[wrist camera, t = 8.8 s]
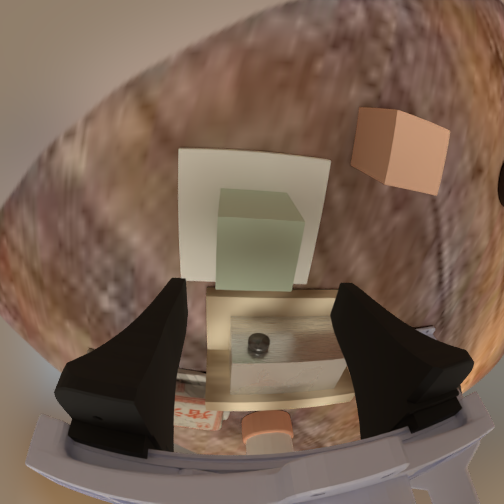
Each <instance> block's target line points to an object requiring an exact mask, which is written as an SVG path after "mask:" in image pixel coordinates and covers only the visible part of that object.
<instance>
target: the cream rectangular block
mask: <svg viewBox="0 0 504 504" xmlns="http://www.w3.org/2000/svg"><path fill="white" fill-rule="evenodd" d="M346 366H347V364H346V361H345V359H344V356H343V354H342V351H341V349H340V346H339V344H338V341H337V338H336V336H335V333H334V330H333V326H332V321H331V317H330V316H290V317H260V316H231V318H230V337H229V375H230V395H248V394H279V393H294V392H306V391H317V390H326V389H334V388H335V386H336V384H337V382H338V381H339V379H340V377H341V375H342V373H343V371H344V370H345V368H346Z"/></svg>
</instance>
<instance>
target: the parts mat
mask: <svg viewBox="0 0 504 504" xmlns="http://www.w3.org/2000/svg"><path fill="white" fill-rule="evenodd" d="M330 165H331V160H329V159H324V158H317V157H309V156H302V155H293V154H284V153H274V152H263V151H251V150H236V149H215V148H179V156H178V220H179V250H180V269H181V278H186V281H208V282H216V247H217V221H218V209H219V200H220V191H221V188H225V189H243V190H258V191H271V192H284V193H287V194H288V195H289V197H290V199H291V200H292V202H293V203H294V205H295V206H296V208H297V209H298V211H299V213H300V214H301V216H302V217H303V219H304V221H305V226H304V232H303V237H302V242H301V247H300V253H299V258H298V263H297V267H296V272H295V277H294V282H293V284H307V280H308V275H309V271H310V267H311V262H312V258H313V253H314V249H315V244H316V239H317V235H318V230H319V225H320V220H321V215H322V210H323V204H324V199H325V194H326V188H327V182H328V177H329V171H330Z"/></svg>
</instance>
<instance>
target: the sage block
mask: <svg viewBox="0 0 504 504" xmlns="http://www.w3.org/2000/svg"><path fill="white" fill-rule="evenodd" d="M304 226H305V221H304V219H303V217H302V216H301V214H300V213H299V211H298V209H297V208H296V206H295V205H294V203H293V202H292V200H291V199H290V197H289V195H288V194H287V193H284V192H271V191H258V190H243V189H225V188H221V191H220V200H219V209H218V221H217V247H216V282H215V289H216V290H244V291H287V292H291V291H292V287H293V282H294V277H295V272H296V267H297V263H298V258H299V253H300V247H301V242H302V237H303V232H304Z"/></svg>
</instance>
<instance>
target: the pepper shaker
mask: <svg viewBox="0 0 504 504" xmlns="http://www.w3.org/2000/svg"><path fill="white" fill-rule="evenodd" d="M242 436H243V441H244V443H245V444H246V455H261V454H276V453H287V452H294V449H293V444H292V440H291V439H292V438H293V430H292V424H291V419H290V415H289V414H288V413H287V412H284V411H281V410H264V411H258V412H254V413H251V414H249V415H247V416H245V417H244V418H243V419H242Z"/></svg>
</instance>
